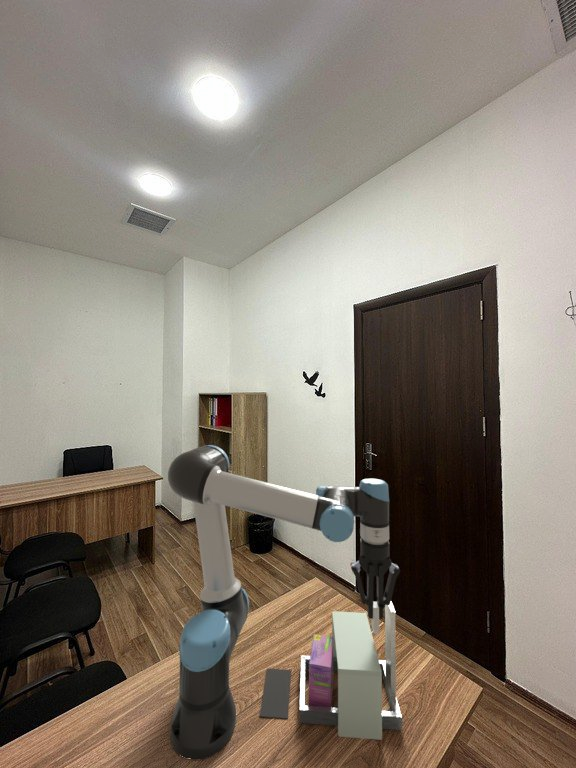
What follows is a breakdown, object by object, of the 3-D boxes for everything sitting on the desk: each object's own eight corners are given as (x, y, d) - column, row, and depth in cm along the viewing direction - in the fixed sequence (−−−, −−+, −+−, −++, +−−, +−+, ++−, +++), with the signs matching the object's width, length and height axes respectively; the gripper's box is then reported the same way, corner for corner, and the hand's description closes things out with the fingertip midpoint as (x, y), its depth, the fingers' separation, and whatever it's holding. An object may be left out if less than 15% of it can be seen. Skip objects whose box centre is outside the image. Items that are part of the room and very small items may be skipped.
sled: (299, 723, 77) (299, 620, 78) (301, 666, 94) (301, 582, 95) (402, 731, 76) (401, 626, 77) (385, 671, 92) (385, 586, 93)
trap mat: (259, 717, 79) (259, 716, 79) (267, 669, 93) (267, 668, 93) (287, 719, 79) (287, 718, 79) (291, 670, 93) (291, 669, 93)
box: (331, 716, 79) (331, 667, 80) (308, 711, 81) (308, 663, 81) (333, 680, 90) (333, 636, 90) (313, 676, 91) (313, 633, 91)
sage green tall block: (338, 736, 75) (338, 668, 75) (332, 664, 95) (332, 611, 96) (382, 739, 74) (381, 671, 75) (366, 666, 94) (366, 612, 95)
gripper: (351, 544, 83) (352, 639, 82) (403, 546, 82) (404, 642, 81) (348, 532, 90) (348, 619, 89) (395, 533, 89) (396, 621, 88)
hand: (375, 629), depth 85 cm, fingers closed
